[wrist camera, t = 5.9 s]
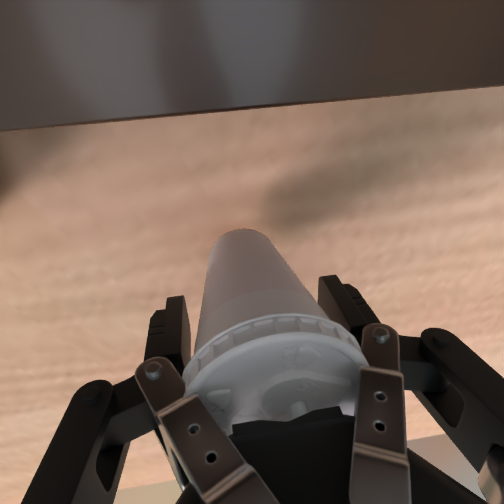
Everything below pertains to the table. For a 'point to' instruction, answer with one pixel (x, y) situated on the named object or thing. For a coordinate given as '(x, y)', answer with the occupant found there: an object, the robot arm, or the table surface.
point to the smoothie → (266, 340)
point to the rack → (234, 55)
